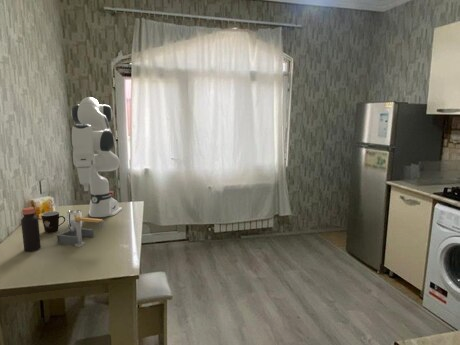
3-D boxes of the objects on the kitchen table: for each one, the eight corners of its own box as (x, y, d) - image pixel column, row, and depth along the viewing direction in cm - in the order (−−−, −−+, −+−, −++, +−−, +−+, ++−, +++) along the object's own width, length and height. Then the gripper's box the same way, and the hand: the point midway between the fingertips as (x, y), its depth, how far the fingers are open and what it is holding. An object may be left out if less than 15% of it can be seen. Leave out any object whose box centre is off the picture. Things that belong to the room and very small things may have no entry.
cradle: (74, 234, 169) (72, 212, 167) (97, 237, 166) (96, 214, 164) (55, 243, 157) (53, 219, 154) (80, 246, 154) (78, 222, 151)
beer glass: (65, 241, 159) (63, 213, 157) (74, 236, 166) (72, 209, 164) (78, 242, 158) (76, 213, 156) (86, 237, 165) (84, 209, 163)
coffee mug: (39, 232, 172) (37, 214, 171) (54, 227, 180) (52, 210, 178) (52, 236, 167) (51, 217, 165) (67, 231, 174) (66, 213, 173)
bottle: (20, 250, 149) (16, 209, 145) (34, 245, 155) (30, 205, 151) (30, 253, 146) (26, 211, 143) (44, 247, 152) (40, 207, 149)
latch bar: (73, 225, 153) (73, 217, 152) (77, 223, 155) (77, 216, 155) (101, 228, 149) (100, 220, 149) (104, 226, 152) (104, 218, 151)
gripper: (78, 157, 150) (80, 186, 153) (74, 163, 132) (77, 196, 134) (92, 157, 153) (94, 185, 155) (91, 163, 134) (93, 194, 136)
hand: (86, 190), depth 144 cm, fingers closed
